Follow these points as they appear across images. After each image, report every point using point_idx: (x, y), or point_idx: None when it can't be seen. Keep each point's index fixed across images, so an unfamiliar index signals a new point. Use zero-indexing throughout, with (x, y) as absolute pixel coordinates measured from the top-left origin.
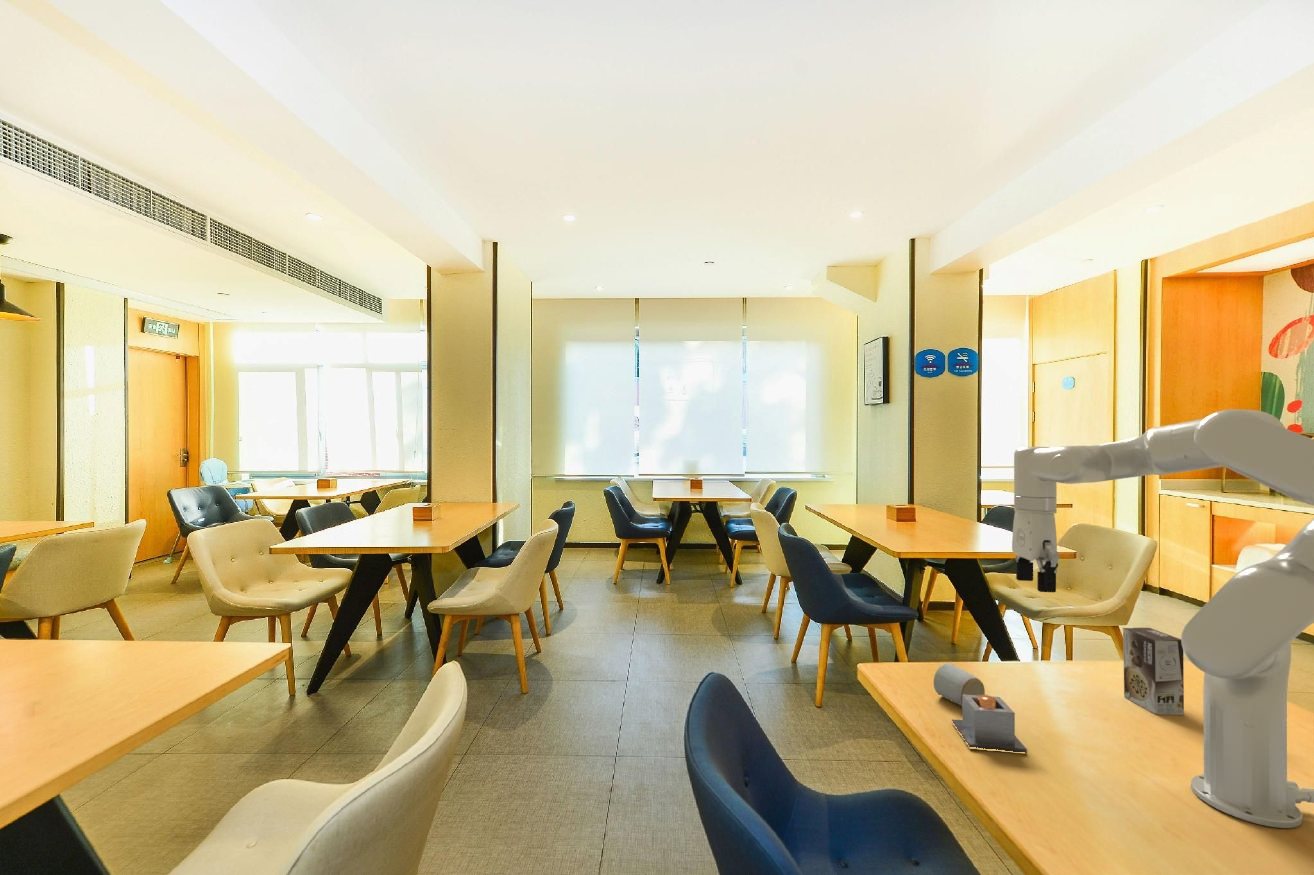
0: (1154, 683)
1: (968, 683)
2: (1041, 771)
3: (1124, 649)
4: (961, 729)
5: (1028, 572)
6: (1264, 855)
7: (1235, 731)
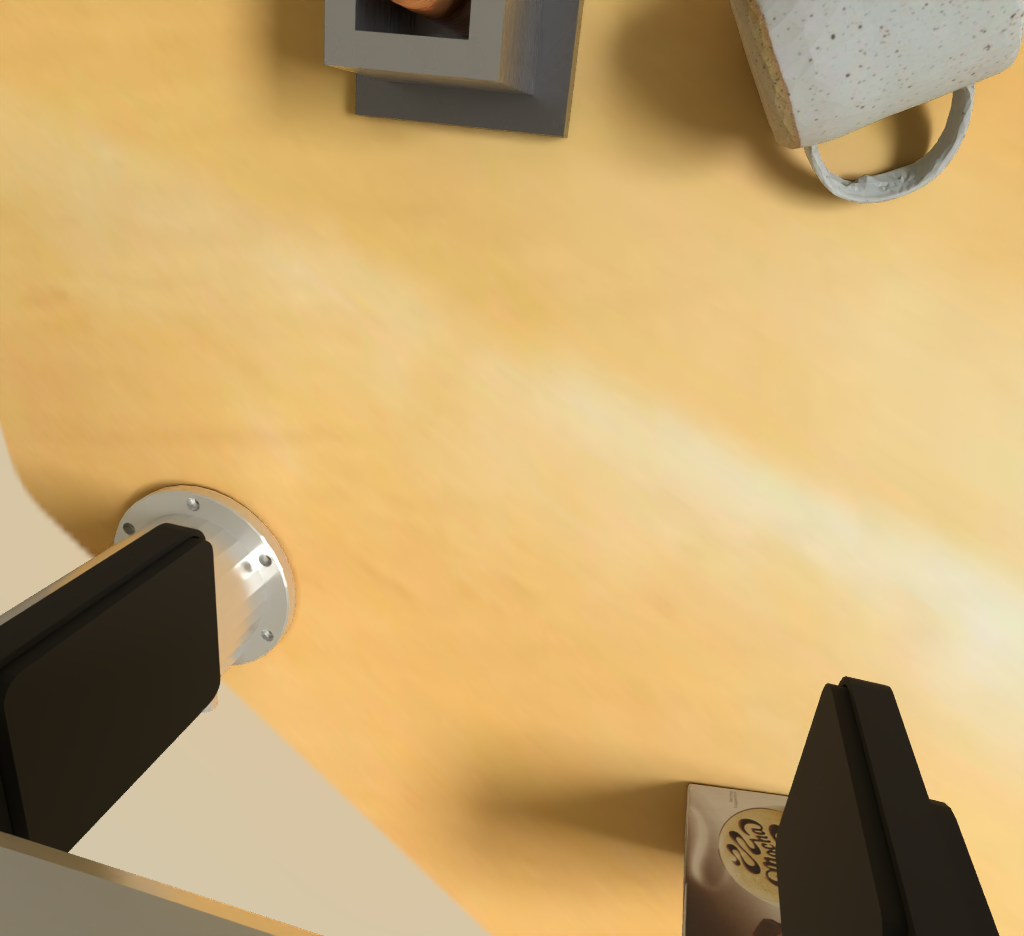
0: (690, 874)
1: (743, 5)
2: (261, 105)
3: None
4: None
5: (799, 903)
6: (26, 439)
7: None
